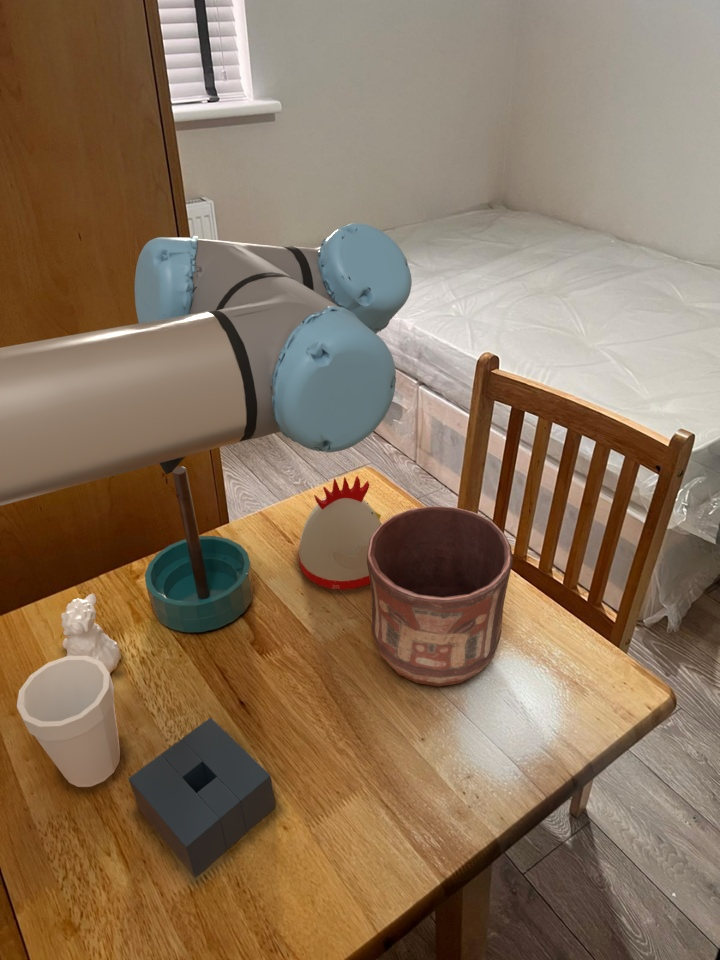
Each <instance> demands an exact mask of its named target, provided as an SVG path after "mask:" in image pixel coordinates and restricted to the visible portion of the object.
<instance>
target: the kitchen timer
mask: <svg viewBox="0 0 720 960" xmlns="http://www.w3.org/2000/svg"><path fill="white" fill-rule="evenodd" d="M369 488H370V482H369V481H368V480H366V481H365V483H364V485H362V486H361V480H360V478H359V475H356V477H355V479H354V483H353V485H352V487H350V486H349V483H348V481H347V478H346V477H345V476H344V477H343V482H342V487H341V489H340V486H339V484H338V482H337V480H336V478H333V483H332V490H331V491H330V490H329V489H328V488H327V487H326V486H323V489H322V490H323V491H324V493H325V497H324V498H323V499H320V498H319V497H318V496H317V495H316V494H314V499H315V502H316V505H315V506H314V508H313V509H312V510H311V512H310V513H309V515H308V516H307V518H306V520H305V522H304V525H303V529H302V531H301V535H300V541H299V547H298V561H299V566H300V569H301V572H302V573H303V575H305V577H306V578H307V579H308V580H309V581H311V582H313V583H314V584H316V585H318V586H320V587H324V588H327V589H333V590H342V591H343V590H352V589H358V588H362V587H364V586H367V585H369V584H371V583H370V576H369V571H368V566H367V552H368V546H369V539H370V538H371V536H372V535H373V534H374V532H375V531H376V529H377V528H378V527H379V525H381V524H382V523H381V514H380V513H379V512H377V511H376V510H374V508H372V507H371V505H370V504H369V503H368V502H366V500H364V499H365V497H366V496H367V495H366V494H367V493H368V491H369Z"/></svg>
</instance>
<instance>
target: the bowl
mask: <svg viewBox="0 0 720 960" xmlns="http://www.w3.org/2000/svg"><path fill="white" fill-rule="evenodd" d="M199 538H200V543H201V549H202V554H203V559H204V564H205V570H206V575H207V580H208V586H209V591H210V596H209V597H208V598H206V599H199V598H198V596H197V591H196V586H195V581H194V576H193V571H192V566H191V561H190V556H189V552H188V547H187V542H186V538H184V539H181V540H179V541H176V542H175V543H172V544H169V545H168V546H166V547H165V548H163V549H161V551H159V552H157V554H156V555H155V556H154V557H153V558H152V559H151V560H150V562H149V563H148V565H147V568H146V570H145V573H144V580H145V587H146V591H147V595H148V599H149V603H150V607H151V610H152V611H151V612H152V614H153V615H154V616H155V618H156V619H157V621H158V622H159V623H160V624H162V625H164V626H166V627H167V628H168V629H170V630H173V631H179V632H182V633H204V632H209V631H213V630H217V629H220V628H222V627H224V626H226V625H228V624H230V623H232V622H234V621H235V620H236V619H238V618H239V617H240V616H241V615H243V614H244V613H245V612H246V611H247V609H248V607H249V605H251V603H252V601H253V598H254V593H255V592H254V591H255V585H254V578H253V571H252V565H251V559H250V556H249V553H248V552H247V550H246V549H245V548H244V547H243V546H242V545H241V544H239V543H237V542H236V541H234V540H232V539H231V538H226V537H223V536H216V535H199Z"/></svg>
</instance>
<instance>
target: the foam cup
mask: <svg viewBox="0 0 720 960" xmlns="http://www.w3.org/2000/svg"><path fill="white" fill-rule="evenodd" d="M113 683H114V682H113V679H112V677H111V673H109V672H108V670H107V669H106V667H105V666H104V665H103V663H102V662H101V661H99V660H97V659H94V658H92V657H89V656H67V655H65V656H64V657H61V658H57V659H54V660H51V661H49V662H47V663H45V664H44V665H42V666H41V667H40V668H38V669H37V670H36V671H34V672H33V673H31V674H30V675H29V676H28V678H27V679H26V681H25V682H24V683H23V684H22V686H21V688H19V690H18V694H17V695H18V696H17V700H16V701H17V702H16V709H17V711H18V713H19V716H20V718H21V720H22V722H23V724H24V725H25V727H26V729H27V731H28V733H29V734H30V735H32V736H34V738H35V739H36V740H37V742H38V743H39V744H40V746H41V747H42V748H43V750H44V752H45V753H46V754H47V755H48V757H49V758H50V760H51V761H52V763H53V764H54V765H55V766H56V768H57V769H58V770H59V772H60V773H61V775H62V776H63V777H64V778H65V780H66V781H67V782H68V783H69V784H71V785H73V786H75V787H78V788H92V787H94V786H96V785H98V784H101V783H103V782H105V781H106V780H107V779H108V778H109V777H110V776H112V775H113V774H114V773H115V771H116V769H117V767H118V766H119V764H120V761H121V759H120V758H121V750H120V740H119V732H118V724H117V716H116V710H115V709H116V708H115V700H114V697H115V695H114V694H115V685H114V684H113Z"/></svg>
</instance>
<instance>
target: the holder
mask: <svg viewBox="0 0 720 960" xmlns="http://www.w3.org/2000/svg"><path fill="white" fill-rule="evenodd" d="M128 782H129V784H130V785H129V786H130V788H131V790H132V793H133V796H134V799H135V803H136V806H137V807H138V811H139V812H140V813H141V814H142V816H143V817H144V818H145V819H146V820H147V822H148V823H149V824H150V826H152V828H153V829H154V830H155V831H156V833H157V834H158V835H159V836H160V837H161V839H162V840H163V841H164V842H165V844H166V845H167V847H169V848H170V850H171V851H172V852H173V853H174V854H175V856H176V857H177V859H178V860H179V861H180V862H181V863H182V864H183V865H184V867H185V868H186V869H187V871H188V872H189V873H190V874H191V875H192V877H193V878H195V879H197V877H199V876H200V875H201V874H203V872H204V871H206V870H207V869H208V868H209V867H210V866H211V865H213V863H215V862H216V861H217V860H218V859H219V858H220V857H221V856H222V855H224V854H225V853H226V852H227V851H228V850H229V849H230V848H231V847H232V846H234V845H235V844H236V843H237V842H238V841H239V840H240V839H242V838H243V837H244V836H245V835H246V834H247V833H248V832H249V831H251V830H252V829H253V828H254V827H255V826H256V825H257V824H259V823H260V822H261V821H262V820H263V819H264V818H266V817H267V816H268V815H269V814H270V813H271V812H272V811H273V810H275V809H276V802H275V801H276V800H275V795H274V789H273V782H272V776H271V774H270V773H269V772H268V771H267V770H265V768H263V766H262V765H261V764H259V762H257V761H256V759H254V757H252V756H251V755H250V754H249V753H248V752H247V751H246V749H244V748H243V747H242V746H241V745H240V744H239V743H238V742H237V741H236V740H235V739H234V738H233V737H232V736H231V735H230V734H229V733H228V732H227V731H225V729H224V728H223V727H221V725H219V723H217V722H216V720H214V719H213V718H212V717H209V718H207V719H206V720H205V721H203V722H202V723H201V724H199V725H198V726H196V727H194V728H193V730H191V731H190V732H189V733H187V734H186V735H185V736H184V737H182V738H181V739H179V740H178V741H177V742H175V743H174V744H172V745H171V746H170V747H168V748H167V749H166V750H164V751H163V752H162V753H161V754H159V755H157V756H156V757H155V758H154V759H152V760H151V761H149V762H148V763H147V764H145V765H144V766H143V767H141V768H140V769H139V770H137V771H136V772H135V773H134V774H132V775H131V776H129V777H128Z"/></svg>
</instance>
